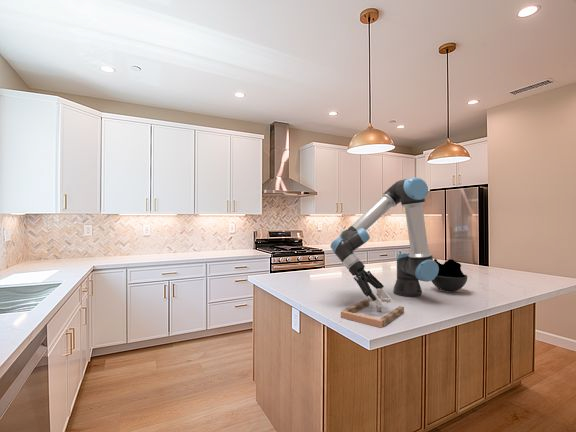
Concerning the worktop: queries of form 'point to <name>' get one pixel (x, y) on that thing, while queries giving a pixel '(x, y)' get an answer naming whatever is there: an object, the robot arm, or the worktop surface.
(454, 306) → the worktop surface
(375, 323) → the band bar
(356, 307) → the brown wooden frame
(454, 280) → the bowl of black rocks
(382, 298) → the pipe connector
